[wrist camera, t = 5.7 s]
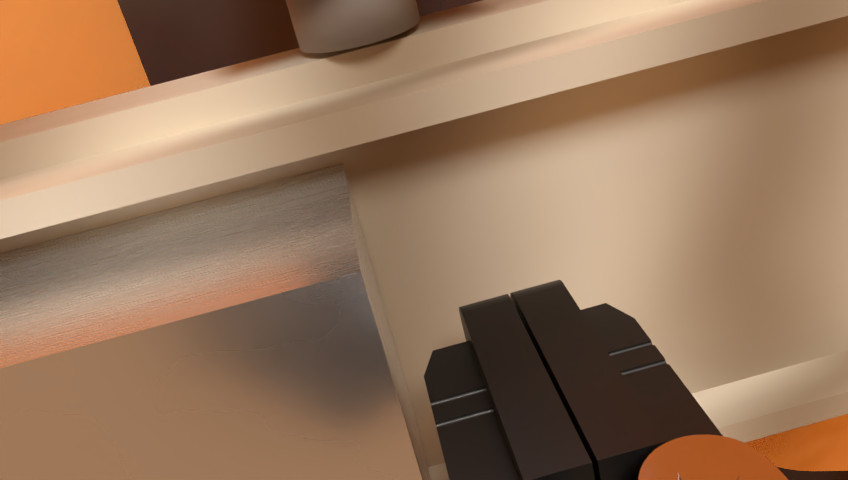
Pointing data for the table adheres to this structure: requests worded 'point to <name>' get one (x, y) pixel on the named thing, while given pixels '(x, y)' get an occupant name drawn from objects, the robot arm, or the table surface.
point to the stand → (216, 32)
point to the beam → (525, 174)
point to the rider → (206, 346)
